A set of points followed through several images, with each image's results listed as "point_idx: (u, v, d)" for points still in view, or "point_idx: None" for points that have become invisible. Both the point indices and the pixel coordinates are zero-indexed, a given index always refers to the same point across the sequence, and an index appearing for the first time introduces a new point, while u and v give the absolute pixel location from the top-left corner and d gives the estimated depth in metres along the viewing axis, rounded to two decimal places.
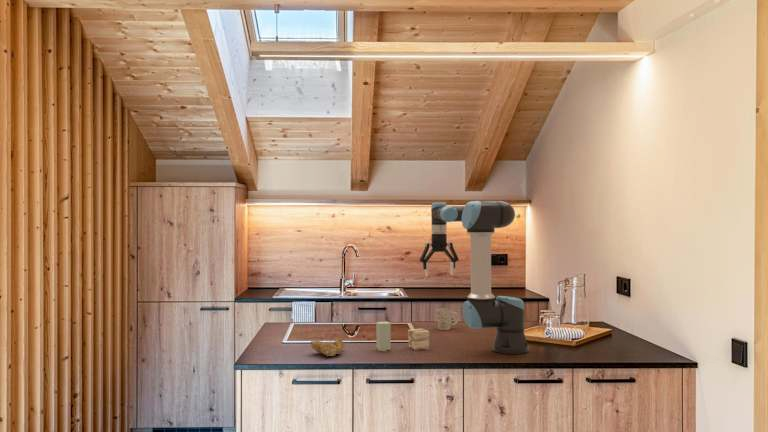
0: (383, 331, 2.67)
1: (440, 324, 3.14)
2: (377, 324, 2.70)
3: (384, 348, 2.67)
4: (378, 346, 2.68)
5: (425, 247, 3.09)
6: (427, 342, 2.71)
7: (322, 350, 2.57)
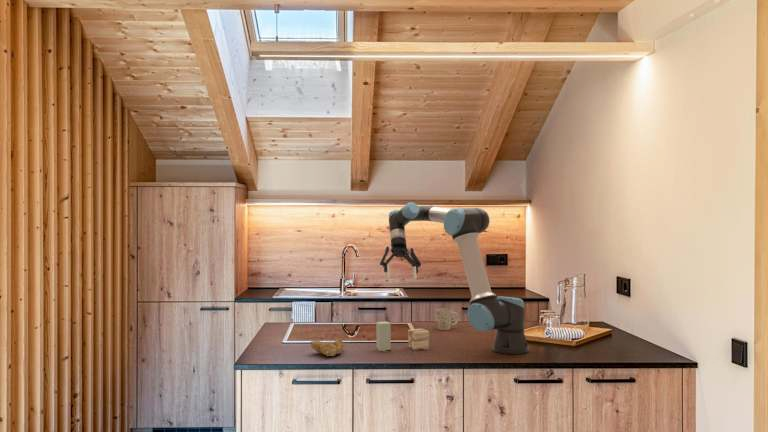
0: (383, 331, 2.67)
1: (440, 324, 3.14)
2: (377, 324, 2.70)
3: (384, 348, 2.67)
4: (378, 346, 2.68)
5: (385, 252, 3.00)
6: (427, 342, 2.71)
7: (322, 350, 2.57)
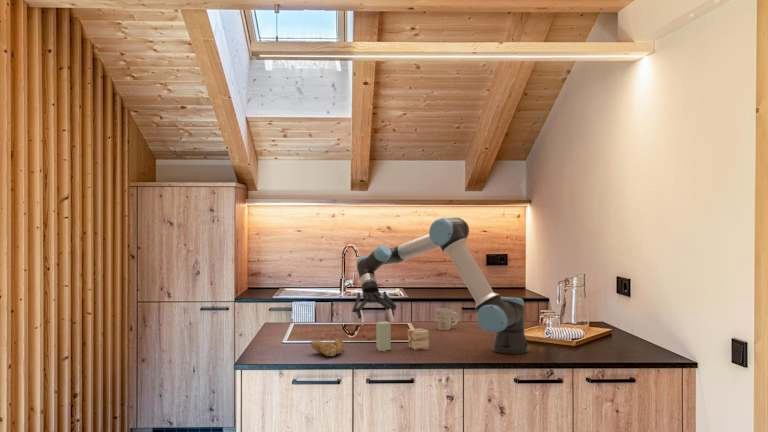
0: (383, 331, 2.67)
1: (440, 324, 3.14)
2: (377, 324, 2.70)
3: (384, 348, 2.67)
4: (378, 346, 2.68)
5: None
6: (427, 342, 2.71)
7: (322, 350, 2.57)
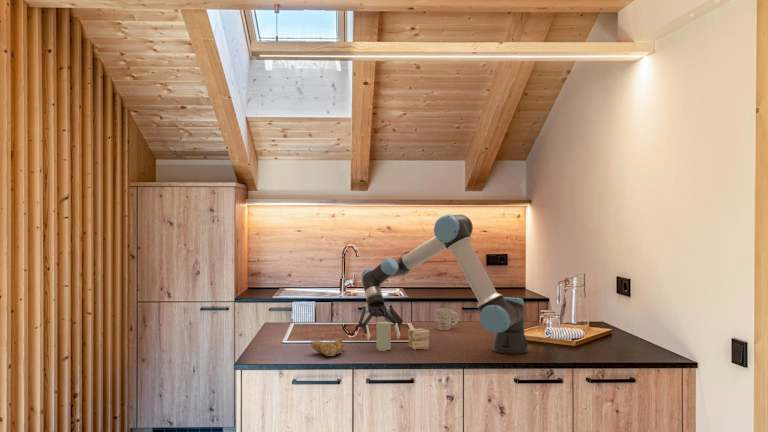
0: (383, 331, 2.67)
1: (440, 324, 3.14)
2: (377, 324, 2.70)
3: (384, 348, 2.67)
4: (378, 346, 2.68)
5: None
6: (427, 342, 2.71)
7: (322, 350, 2.57)
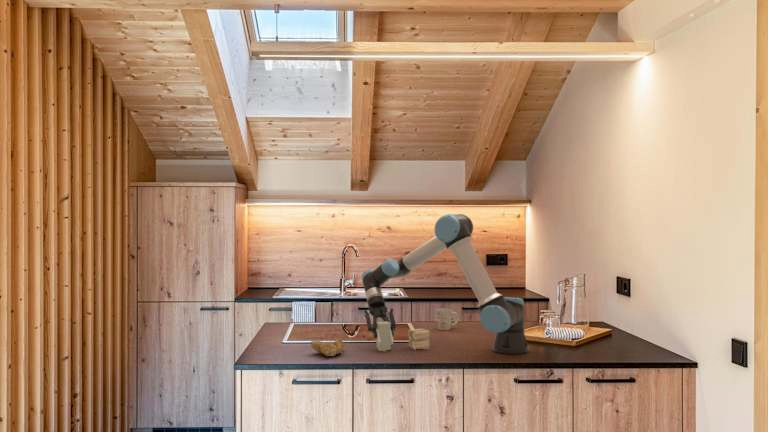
0: (383, 331, 2.67)
1: (440, 324, 3.14)
2: (377, 324, 2.70)
3: (384, 348, 2.67)
4: (378, 346, 2.68)
5: None
6: (427, 342, 2.71)
7: (322, 350, 2.57)
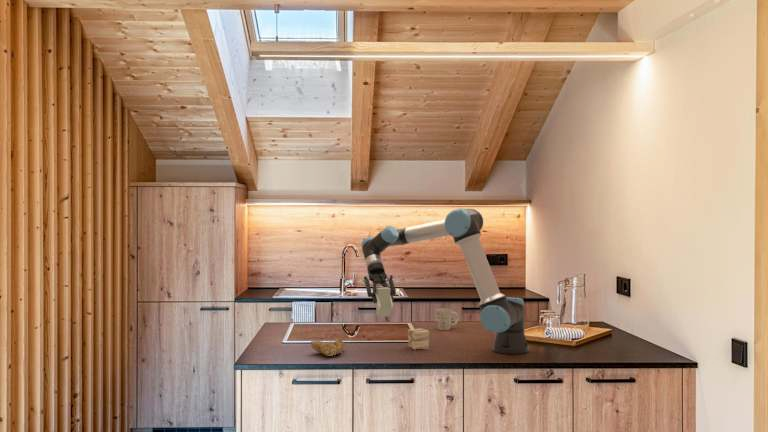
0: (383, 296, 2.67)
1: (440, 324, 3.14)
2: (377, 289, 2.69)
3: (384, 313, 2.67)
4: (378, 311, 2.68)
5: (365, 283, 2.75)
6: (427, 342, 2.71)
7: (322, 350, 2.57)
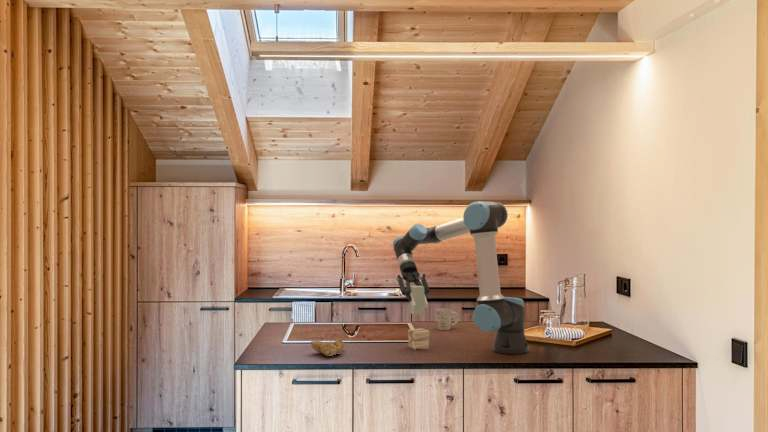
0: (417, 294, 2.70)
1: (440, 324, 3.14)
2: (411, 288, 2.73)
3: (418, 311, 2.71)
4: (412, 309, 2.72)
5: (398, 281, 2.78)
6: (427, 342, 2.71)
7: (322, 350, 2.57)
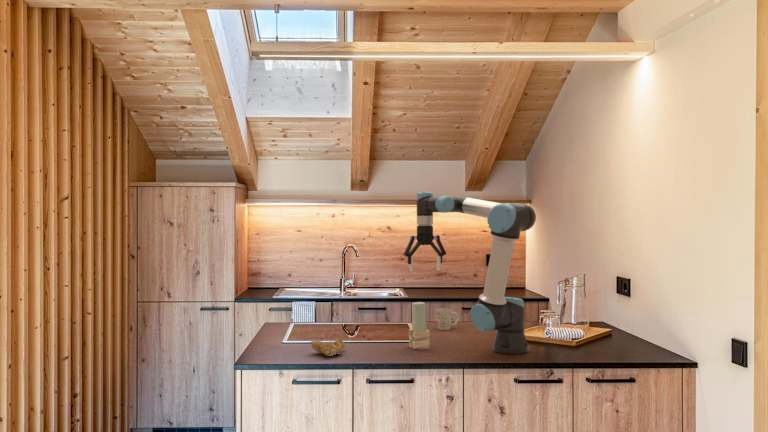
0: (419, 311, 2.71)
1: (440, 324, 3.14)
2: (412, 305, 2.73)
3: (420, 328, 2.71)
4: (414, 326, 2.72)
5: (410, 240, 2.86)
6: (427, 341, 2.72)
7: (322, 350, 2.57)
